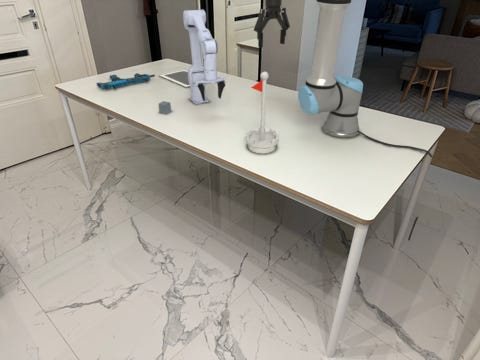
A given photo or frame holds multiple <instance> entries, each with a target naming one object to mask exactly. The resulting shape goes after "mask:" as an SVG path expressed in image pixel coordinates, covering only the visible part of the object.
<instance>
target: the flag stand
mask: <svg viewBox="0 0 480 360" xmlns="http://www.w3.org/2000/svg"><path fill="white" fill-rule="evenodd" d="M269 76H270V75H269V72H267V71H262V72H261V73H260V79H261V80H260V81H259V82H257V83H256V84H254V85H253V86H251V87H250V88H251V89H253V90H256V91H257V92H260V93H261V105H260V106H261V107H260V127H259V128H258V130H255V129H254V128H252V129H249V130H248V133H247V132H246V133H245V143H247V147H248V149H249V150H250V152H253V153H256V154H269V153H272V152H274V151H275V150H276V147H277V146H276V145H278V144H279V139H280V134H279V133H276V130H274V129H272V128H270V129H269V130H266V127H265V126H266V125H265V124H266V103H267V101H266V100H267V80H268V79H269Z"/></svg>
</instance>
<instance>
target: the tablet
mask: <svg viewBox="0 0 480 360" xmlns="http://www.w3.org/2000/svg"><path fill="white" fill-rule="evenodd" d="M158 76H159V77H161V78H163V79H165V80H167V81H170V82H173V83H175V84H177V85H179V86H182V87H184V88H190V86H191V85H190V84H189V81H188V69H182V70H181V69H180V70H176V71H172V72H167V73H163V74H158Z"/></svg>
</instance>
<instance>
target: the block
mask: <svg viewBox="0 0 480 360" xmlns="http://www.w3.org/2000/svg"><path fill="white" fill-rule="evenodd" d="M158 111H159V113H160V114H164V115H168V114H169V113H171V112H172V106H171V101H166V100H163V101H161V102H159V103H158Z"/></svg>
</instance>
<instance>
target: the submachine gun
mask: <svg viewBox="0 0 480 360" xmlns="http://www.w3.org/2000/svg"><path fill="white" fill-rule="evenodd" d="M154 77H156V74H147V73H142V74H141V73H139V72H137V73H135V74H133V77H128V78H121V77H119V76H118V75H117V74H110V75H109V79H111V81H107V82H96V83H95V84H96V87H98V88H99V89H101V90H102V91H103V90H109V89H113V90H116V88H118V87H119V88H120V87H122V86H127V85H133V84H138V83H142V82H148V81H149V80H150V79H151V78H154Z"/></svg>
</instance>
